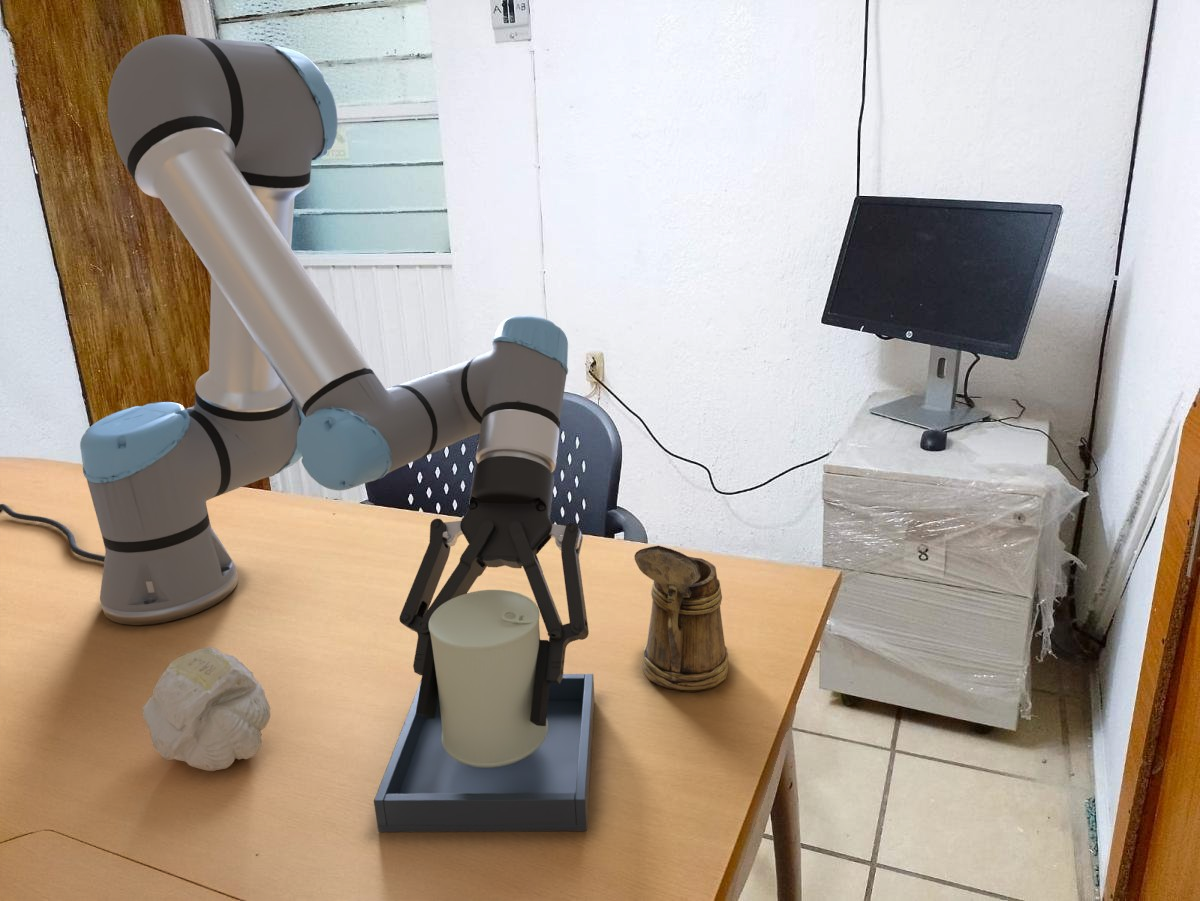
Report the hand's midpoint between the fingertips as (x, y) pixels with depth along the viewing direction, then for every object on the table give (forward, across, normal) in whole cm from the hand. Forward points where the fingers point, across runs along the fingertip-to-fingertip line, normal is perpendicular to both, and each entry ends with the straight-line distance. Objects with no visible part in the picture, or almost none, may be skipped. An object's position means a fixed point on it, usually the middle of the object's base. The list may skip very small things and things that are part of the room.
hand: (481, 719), depth 68 cm
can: (+1, 0, -5) cm, 5 cm away
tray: (+2, 0, -7) cm, 7 cm away
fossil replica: (+3, +26, -6) cm, 27 cm away
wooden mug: (-7, -15, -17) cm, 24 cm away
